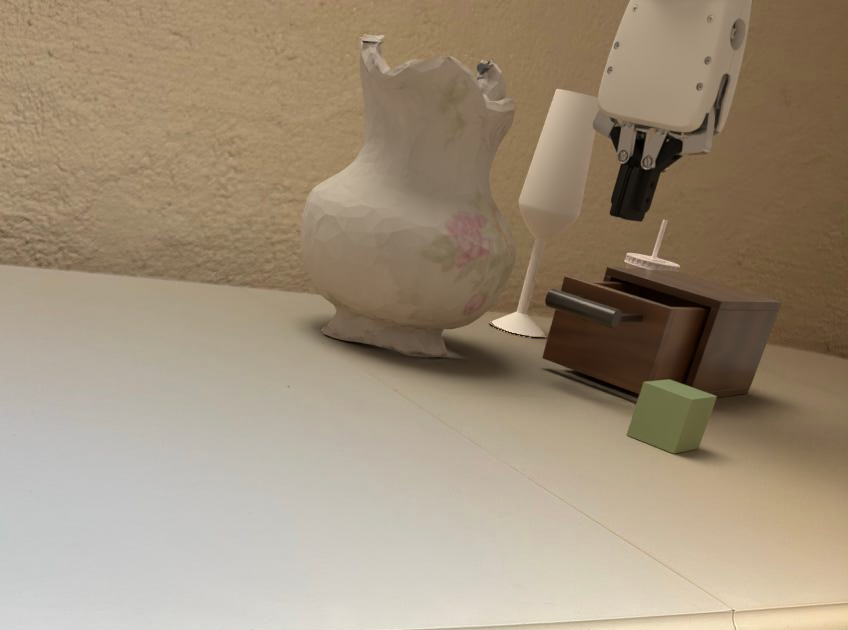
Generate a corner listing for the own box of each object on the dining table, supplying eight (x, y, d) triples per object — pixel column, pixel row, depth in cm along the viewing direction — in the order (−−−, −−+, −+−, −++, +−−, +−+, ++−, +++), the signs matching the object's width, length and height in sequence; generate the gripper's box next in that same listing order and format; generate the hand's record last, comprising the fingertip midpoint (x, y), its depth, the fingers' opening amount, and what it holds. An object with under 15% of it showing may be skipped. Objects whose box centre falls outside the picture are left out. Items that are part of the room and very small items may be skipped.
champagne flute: (555, 336, 119) (620, 103, 108) (531, 340, 113) (596, 96, 102) (504, 320, 121) (562, 91, 110) (478, 323, 116) (536, 83, 105)
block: (698, 448, 85) (717, 396, 83) (674, 454, 82) (693, 399, 80) (651, 430, 87) (669, 379, 85) (626, 435, 84) (643, 381, 82)
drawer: (611, 399, 90) (639, 308, 87) (507, 360, 96) (529, 273, 93) (707, 388, 104) (735, 309, 101) (611, 354, 110) (634, 278, 107)
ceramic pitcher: (342, 313, 111) (371, 46, 100) (520, 346, 106) (571, 71, 95) (258, 342, 92) (283, 17, 81) (470, 383, 88) (527, 45, 77)
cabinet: (686, 402, 101) (721, 301, 96) (578, 362, 107) (606, 266, 103) (747, 393, 111) (782, 302, 107) (646, 358, 118) (674, 271, 113)
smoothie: (598, 339, 123) (636, 214, 116) (604, 332, 128) (640, 212, 122) (652, 353, 121) (692, 227, 115) (655, 345, 127) (694, 225, 121)
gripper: (808, -10, 79) (723, 242, 88) (640, -30, 87) (576, 202, 96) (769, -33, 74) (682, 237, 82) (594, -52, 82) (531, 196, 90)
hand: (626, 218), depth 89 cm, fingers closed
